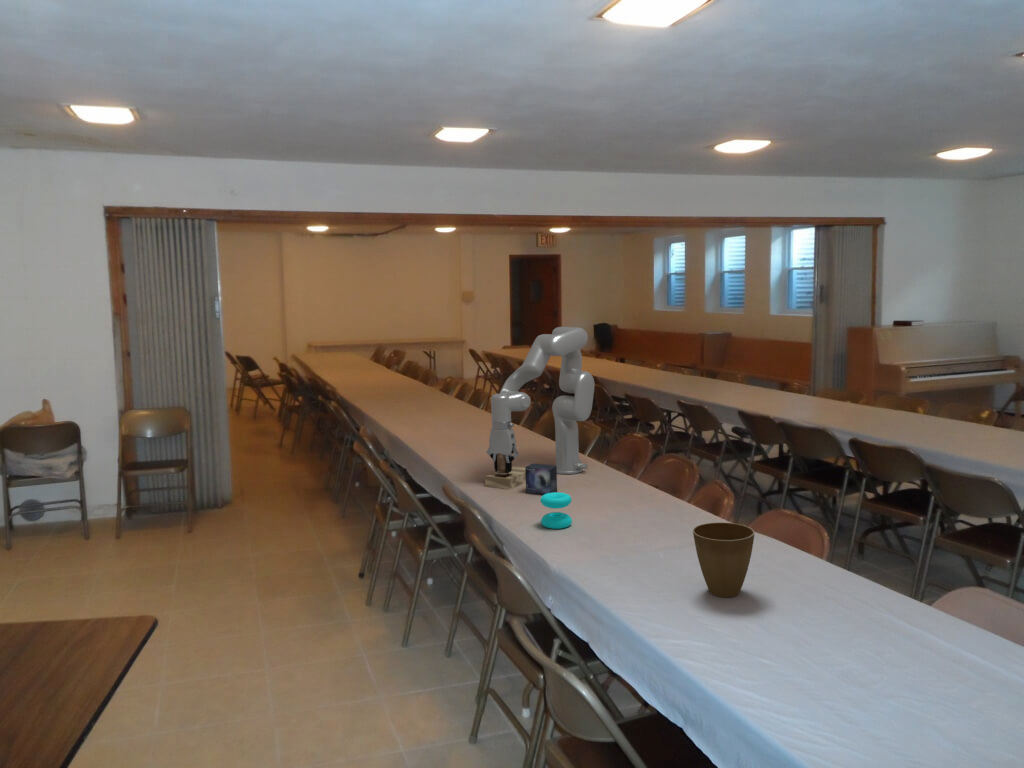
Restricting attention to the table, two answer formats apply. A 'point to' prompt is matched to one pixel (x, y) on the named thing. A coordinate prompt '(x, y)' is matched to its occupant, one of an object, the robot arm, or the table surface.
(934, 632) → the table surface
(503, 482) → the board
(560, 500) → the donuts
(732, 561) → the plant pot
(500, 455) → the peg
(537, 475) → the small box
